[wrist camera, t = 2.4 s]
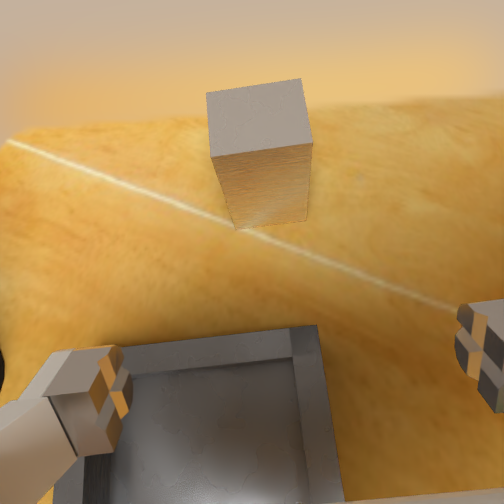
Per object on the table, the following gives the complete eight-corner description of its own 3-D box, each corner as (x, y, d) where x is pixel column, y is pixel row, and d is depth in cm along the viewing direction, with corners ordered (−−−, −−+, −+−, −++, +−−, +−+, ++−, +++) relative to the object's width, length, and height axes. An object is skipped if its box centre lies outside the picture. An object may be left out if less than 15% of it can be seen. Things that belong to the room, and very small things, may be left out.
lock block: (306, 220, 27) (312, 142, 18) (235, 229, 27) (210, 157, 19) (297, 170, 28) (300, 76, 20) (231, 179, 28) (205, 90, 20)
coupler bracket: (356, 616, 19) (372, 671, 15) (86, 635, 20) (38, 692, 16) (312, 334, 24) (316, 324, 20) (98, 359, 25) (63, 354, 21)
